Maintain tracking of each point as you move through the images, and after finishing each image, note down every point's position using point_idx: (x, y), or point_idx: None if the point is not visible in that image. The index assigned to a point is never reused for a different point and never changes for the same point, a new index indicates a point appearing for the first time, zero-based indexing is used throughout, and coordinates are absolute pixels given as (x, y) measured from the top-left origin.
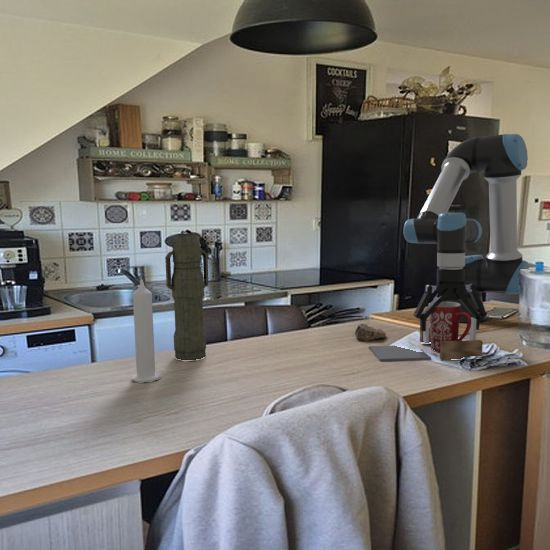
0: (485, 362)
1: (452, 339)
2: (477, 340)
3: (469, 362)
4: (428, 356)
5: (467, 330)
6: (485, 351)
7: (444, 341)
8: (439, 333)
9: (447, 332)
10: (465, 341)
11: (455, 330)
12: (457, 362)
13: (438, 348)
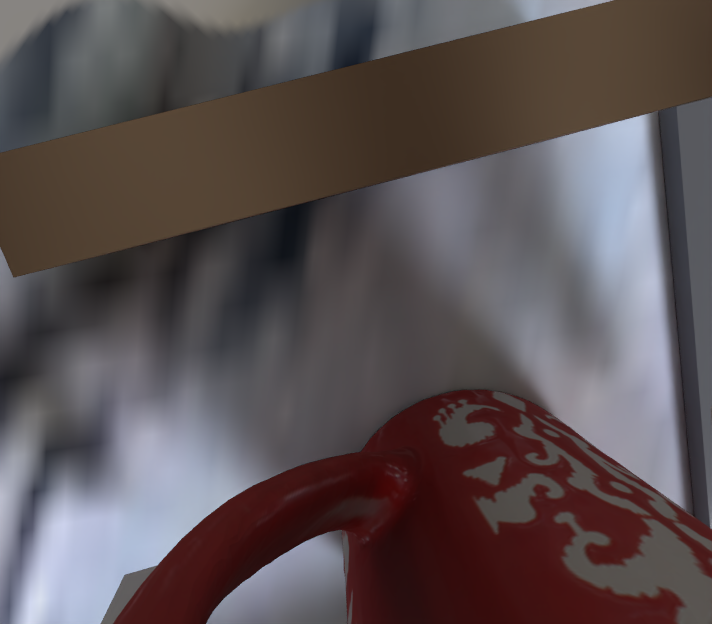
0: (80, 52)
1: (444, 480)
2: (66, 229)
3: (267, 31)
4: (694, 140)
5: (215, 511)
6: (60, 519)
7: (679, 69)
8: (679, 513)
9: (577, 515)
10: (303, 112)
11: (436, 609)
12: (402, 17)
13: (554, 417)
